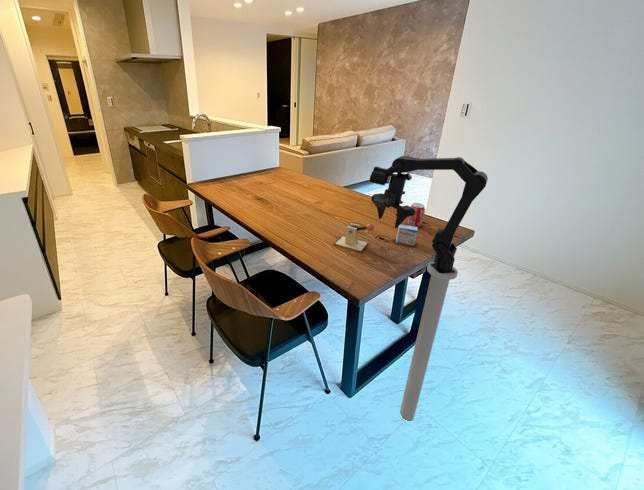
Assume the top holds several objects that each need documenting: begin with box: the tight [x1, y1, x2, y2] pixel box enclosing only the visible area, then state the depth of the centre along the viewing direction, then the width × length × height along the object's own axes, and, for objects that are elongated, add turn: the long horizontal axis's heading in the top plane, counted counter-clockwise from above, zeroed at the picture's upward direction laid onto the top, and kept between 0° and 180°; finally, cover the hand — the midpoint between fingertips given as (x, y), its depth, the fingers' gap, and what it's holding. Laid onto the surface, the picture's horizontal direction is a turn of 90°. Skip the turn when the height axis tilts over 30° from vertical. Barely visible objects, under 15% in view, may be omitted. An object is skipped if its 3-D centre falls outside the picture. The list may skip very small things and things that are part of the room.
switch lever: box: [351, 223, 375, 232], centre depth 130 cm, size 11×3×3 cm, turn 57°
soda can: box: [406, 202, 426, 228], centre depth 152 cm, size 7×7×12 cm
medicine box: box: [395, 223, 419, 247], centre depth 135 cm, size 8×4×9 cm, turn 68°
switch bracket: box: [335, 222, 368, 252], centre depth 134 cm, size 12×9×10 cm
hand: (387, 223), depth 124 cm, fingers open, 9 cm apart
